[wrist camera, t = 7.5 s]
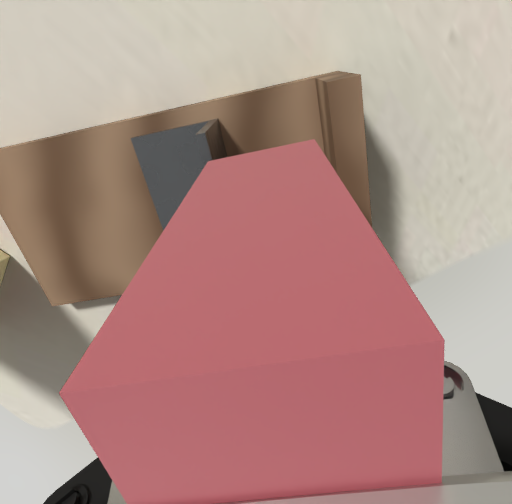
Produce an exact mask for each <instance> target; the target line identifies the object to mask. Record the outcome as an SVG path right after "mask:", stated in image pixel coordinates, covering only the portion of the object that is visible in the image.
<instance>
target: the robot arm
mask: <svg viewBox="0 0 512 504" xmlns="http://www.w3.org/2000/svg"><path fill="white" fill-rule="evenodd" d="M43 504H127V503H126V502H125V500H124V498H123V497H122V495H121V493H120V492H119V490H118V489H117V487H116V485H115V484H114V482H113V480H112V479H111V477H110V476H109V474H108V472H107V471H106V469H105V467H104V466H103V464H102V463H101V461H100V459H99V458H97V459H95V460H94V461H93V462H91V463H90V464H89V465H88V466H86V467H85V468H84V469H83V470H81V471H80V472H79V473H77V474H76V475H75V476H74V477H72V478H71V479H70V480H69V481H67V482H66V483H65V484H63V485H62V486H61V487H60V488H58V489H57V490H56V491H55V492H54V493H53V494H52V495H51V496H49V497H48V498H47V500H46V501H45V502H44V503H43ZM217 504H512V408H511V407H508V406H506V405H504V404H501V403H499V402H496V401H494V400H492V399H489V398H487V397H484V396H482V395H480V394H477V393H475V391H474V388H473V386H472V383H471V381H470V379H469V377H468V376H467V374H466V373H465V372H464V371H463V370H462V369H461V368H459V367H458V366H456V365H454V364H452V363H450V362H447V361H444V386H443V440H442V483H433V484H421V485H410V486H399V487H387V488H376V489H365V490H354V491H344V492H333V493H323V494H312V495H301V496H291V497H280V498H269V499H259V500H248V501H238V502H227V503H217Z"/></svg>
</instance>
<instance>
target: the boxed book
mask: <svg viewBox="0 0 512 504" xmlns="http://www.w3.org/2000/svg"><path fill="white" fill-rule="evenodd" d="M443 386H444V339H443V337H442V336H441V334H440V333H439V331H438V330H437V328H436V326H435V325H434V323H433V322H432V320H431V319H430V317H429V315H428V314H427V312H426V311H425V309H424V308H423V306H422V305H421V303H420V302H419V300H418V298H417V297H416V295H415V294H414V292H413V291H412V289H411V288H410V286H409V285H408V283H407V281H406V280H405V278H404V277H403V275H402V274H401V272H400V271H399V269H398V267H397V266H396V264H395V263H394V261H393V260H392V258H391V257H390V255H389V254H388V252H387V250H386V249H385V247H384V246H383V244H382V243H381V241H380V240H379V238H378V237H377V235H376V233H375V232H374V230H373V229H372V227H371V226H370V224H369V223H368V221H367V220H366V218H365V216H364V215H363V213H362V212H361V210H360V209H359V207H358V206H357V204H356V202H355V201H354V199H353V198H352V196H351V195H350V193H349V192H348V190H347V189H346V187H345V185H344V184H343V182H342V181H341V179H340V178H339V176H338V175H337V173H336V172H335V170H334V168H333V167H332V165H331V164H330V162H329V161H328V159H327V158H326V156H325V155H324V153H323V151H322V150H321V148H320V147H319V145H318V144H317V142H316V141H315V139H312V140H307V141H303V142H298V143H293V144H288V145H284V146H279V147H274V148H269V149H264V150H260V151H255V152H250V153H245V154H240V155H236V156H231V157H226V158H221V159H217V160H212V161H208V162H207V164H206V165H205V167H204V168H203V170H202V171H201V173H200V175H199V176H198V178H197V179H196V181H195V182H194V184H193V185H192V187H191V189H190V190H189V192H188V193H187V195H186V196H185V198H184V199H183V201H182V203H181V204H180V206H179V207H178V209H177V210H176V212H175V213H174V215H173V217H172V218H171V220H170V221H169V223H168V224H167V226H166V227H165V229H164V231H163V232H162V234H161V235H160V237H159V238H158V240H157V241H156V243H155V245H154V246H153V248H152V249H151V251H150V252H149V254H148V255H147V257H146V259H145V260H144V262H143V263H142V265H141V266H140V268H139V269H138V271H137V273H136V274H135V276H134V277H133V279H132V280H131V282H130V283H129V285H128V287H127V288H126V290H125V291H124V293H123V294H122V296H121V297H120V299H119V301H118V302H117V304H116V305H115V307H114V308H113V310H112V311H111V313H110V315H109V316H108V318H107V319H106V321H105V322H104V324H103V325H102V327H101V329H100V330H99V332H98V333H97V335H96V336H95V338H94V339H93V341H92V343H91V344H90V346H89V347H88V349H87V350H86V352H85V353H84V355H83V356H82V358H81V360H80V361H79V363H78V364H77V366H76V367H75V369H74V370H73V372H72V374H71V375H70V377H69V378H68V380H67V381H66V383H65V384H64V386H63V388H62V389H61V391H60V392H59V394H60V396H61V398H62V399H63V401H64V402H65V404H66V406H67V407H68V409H69V411H70V412H71V414H72V415H73V417H74V419H75V420H76V422H77V423H78V425H79V427H80V428H81V430H82V432H83V433H84V435H85V437H86V438H87V440H88V441H89V443H90V445H91V446H92V448H93V450H94V451H95V452H96V454H97V456H98V458H99V459H100V461H101V463H102V464H103V466H104V467H105V469H106V471H107V472H108V474H109V476H110V477H111V479H112V480H113V482H114V484H115V485H116V487H117V489H118V490H119V492H120V493H121V495H122V497H123V498H124V500H125V502H126V503H127V504H217V503H227V502H238V501H248V500H259V499H269V498H280V497H291V496H301V495H312V494H323V493H333V492H344V491H354V490H365V489H376V488H387V487H399V486H410V485H421V484H433V483H442V440H443Z"/></svg>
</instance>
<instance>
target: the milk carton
mask: <svg viewBox="0 0 512 504" xmlns="http://www.w3.org/2000/svg"><path fill="white" fill-rule="evenodd" d="M9 257H10V256H9V255H7V254H6V253H4V252H3V251H1V250H0V286H1V283H2V280H3V277H4V273H5V270H6V267H7V264H8V260H9Z"/></svg>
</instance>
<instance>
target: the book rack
mask: <svg viewBox="0 0 512 504" xmlns="http://www.w3.org/2000/svg"><path fill="white" fill-rule="evenodd" d="M217 118H218V120H219V124H220V129H221V133H222V137H223V141H224V145H225V149H226V153H227V157H231V156H236V155H240V154H245V153H250V152H255V151H260V150H264V149H269V148H274V147H279V146H284V145H288V144H293V143H298V142H303V141H307V140H312V139H315V141H316V142H317V144H318V145H319V147H320V148H321V150H322V151H323V153H324V155H325V156H326V158H327V159H328V161H329V162H330V164H331V165H332V167H333V168H334V170H335V172H336V173H337V175H338V176H339V178H340V179H341V181H342V182H343V184H344V185H345V187H346V189H347V190H348V192H349V193H350V195H351V196H352V198H353V199H354V201H355V202H356V204H357V206H358V207H359V209H360V210H361V212H362V213H363V215H364V216H365V218H366V220H367V221H368V223H369V224H370V226H371V227H372V220H371V206H370V193H369V179H368V166H367V153H366V139H365V126H364V112H363V99H362V86H361V75H360V74H353V73H347V72H340V71H335V72H331V73H327V74H322V75H318V76H313V77H309V78H305V79H300V80H296V81H292V82H287V83H283V84H278V85H274V86H270V87H265V88H261V89H257V90H252V91H248V92H243V93H239V94H235V95H230V96H226V97H222V98H217V99H213V100H209V101H204V102H200V103H195V104H191V105H187V106H182V107H178V108H174V109H169V110H165V111H160V112H156V113H152V114H147V115H143V116H139V117H134V118H130V119H125V120H121V121H117V122H112V123H108V124H104V125H99V126H95V127H90V128H86V129H82V130H77V131H73V132H69V133H64V134H60V135H56V136H51V137H47V138H42V139H38V140H34V141H29V142H25V143H21V144H16V145H12V146H7V147H3V148H0V214H1V216H2V218H3V220H4V221H5V223H6V225H7V227H8V229H9V230H10V232H11V234H12V236H13V237H14V239H15V241H16V243H17V245H18V246H19V248H20V250H21V252H22V253H23V255H24V257H25V259H26V261H27V262H28V264H29V266H30V268H31V269H32V271H33V273H34V275H35V277H36V278H37V280H38V282H39V284H40V285H41V287H42V289H43V291H44V293H45V294H46V296H47V298H48V300H49V302H50V303H51V305H52V306H57V305H63V304H69V303H75V302H81V301H87V300H94V299H100V298H106V297H112V296H118V295H122V294H123V293H124V291H125V290H126V288H127V287H128V285H129V283H130V282H131V280H132V279H133V277H134V276H135V274H136V273H137V271H138V269H139V268H140V266H141V265H142V263H143V262H144V260H145V259H146V257H147V255H148V254H149V252H150V251H151V249H152V248H153V246H154V245H155V243H156V241H157V240H158V238H159V237H160V235H161V234H162V232H163V228H162V226H161V223H160V220H159V217H158V214H157V212H156V209H155V206H154V203H153V200H152V198H151V195H150V192H149V189H148V186H147V183H146V181H145V178H144V175H143V172H142V169H141V167H140V164H139V161H138V158H137V155H136V152H135V150H134V147H133V144H132V141H131V138H132V137H136V136H141V135H145V134H150V133H154V132H159V131H163V130H168V129H172V128H177V127H181V126H186V125H190V124H195V123H199V122H204V121H208V120H213V119H217Z"/></svg>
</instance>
